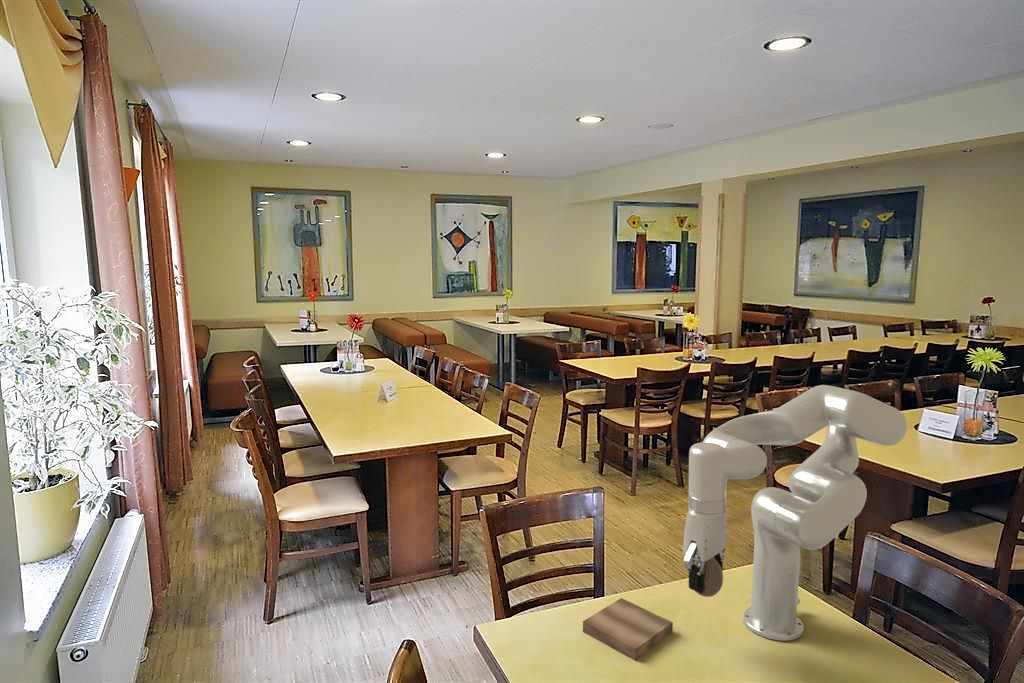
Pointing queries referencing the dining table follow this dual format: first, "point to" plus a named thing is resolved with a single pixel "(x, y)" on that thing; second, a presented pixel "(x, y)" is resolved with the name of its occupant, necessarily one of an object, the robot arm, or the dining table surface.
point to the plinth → (628, 628)
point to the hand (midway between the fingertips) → (705, 582)
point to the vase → (711, 577)
